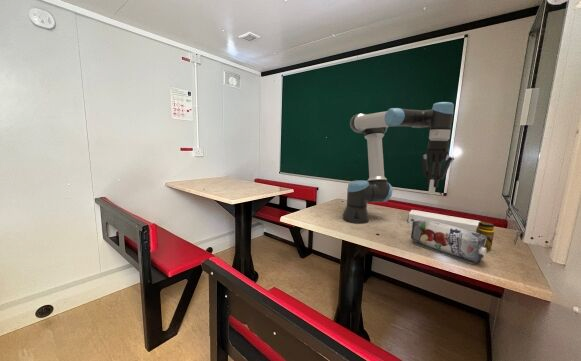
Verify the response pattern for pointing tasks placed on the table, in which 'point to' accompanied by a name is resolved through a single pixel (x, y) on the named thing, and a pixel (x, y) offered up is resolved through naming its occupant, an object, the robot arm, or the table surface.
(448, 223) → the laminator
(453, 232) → the juice carton
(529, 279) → the table surface
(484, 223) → the condiment
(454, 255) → the mat
